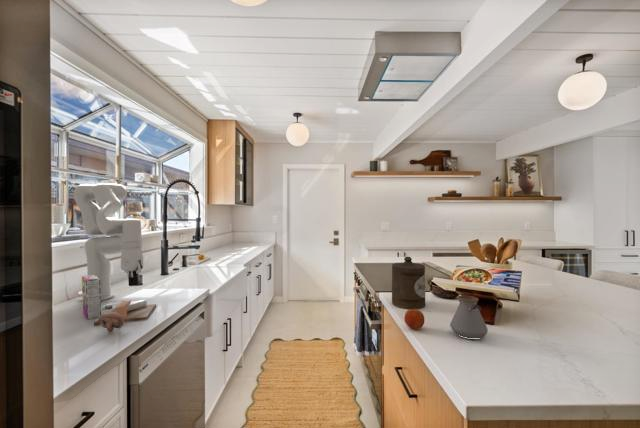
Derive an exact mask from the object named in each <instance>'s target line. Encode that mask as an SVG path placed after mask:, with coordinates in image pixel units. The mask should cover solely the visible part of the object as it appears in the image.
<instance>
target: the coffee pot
mask: <svg viewBox="0 0 640 428" xmlns="http://www.w3.org/2000/svg"><path fill="white" fill-rule="evenodd" d="M456 299H457V300H458V302H459V304H458V306H457V309H456V311H455V313H454V315H453V316H452V318H451V319H452V320H451V321H450V323H449V326H450V328H451V330H452V331H453V333H455V334H456V335H457V334H458V335H460V336H463V337H467V338H481V337H482V338H484V337H485V336H486V335H487V333H488V327H487V325H486V322H485V320H484V318H483V316H482V314H481V312H480V311H481V308H480V306H479V305H478V302H479V299H480V298H478V297H476V296H473V295H472V296H471V295H465V294H464V295H458V296H457V297H456ZM478 307H479V308H478ZM458 335H457V336H458ZM482 338H481V339H482Z"/></svg>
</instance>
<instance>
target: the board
mask: <svg viewBox="0 0 640 428" xmlns="http://www.w3.org/2000/svg"><path fill="white" fill-rule="evenodd" d="M156 307H157V303H154V304H153V303H152V304H147V306H144V307H141V308H137V309H134V310H131V311H127V317H126V318H124V323H129V322H130V323H131V322H138V321H146V320H148V319H149V318H150V316H151V315H152V313H153V312H154V311H155V309H156ZM93 322H94V323H93V326H94V327H95V326H102V325H101V324H100V323H99V318H98V319H97V320H95V321H93Z"/></svg>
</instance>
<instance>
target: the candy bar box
mask: <svg viewBox="0 0 640 428" xmlns="http://www.w3.org/2000/svg"><path fill="white" fill-rule="evenodd" d="M81 292H82V296H81V298H82V314H83V316H84V317H85V318H86V319H87V320H92V319H96V318H99V317H100V316H101V309H102V304H101V303H102V302H101V294H100V278H98V277H97V276H96V275H90V276H87V275H84V276H81Z"/></svg>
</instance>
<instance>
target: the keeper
mask: <svg viewBox="0 0 640 428" xmlns="http://www.w3.org/2000/svg"><path fill="white" fill-rule="evenodd" d="M131 302H132V300H125V301H122V302H120V303H119V304H118V305H117V306H115V307H116V312H117V313H118V314H120V315H121V316H122V317H123V319H124V318H126V317H127V306H128V305H129V304H130V303H131Z"/></svg>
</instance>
